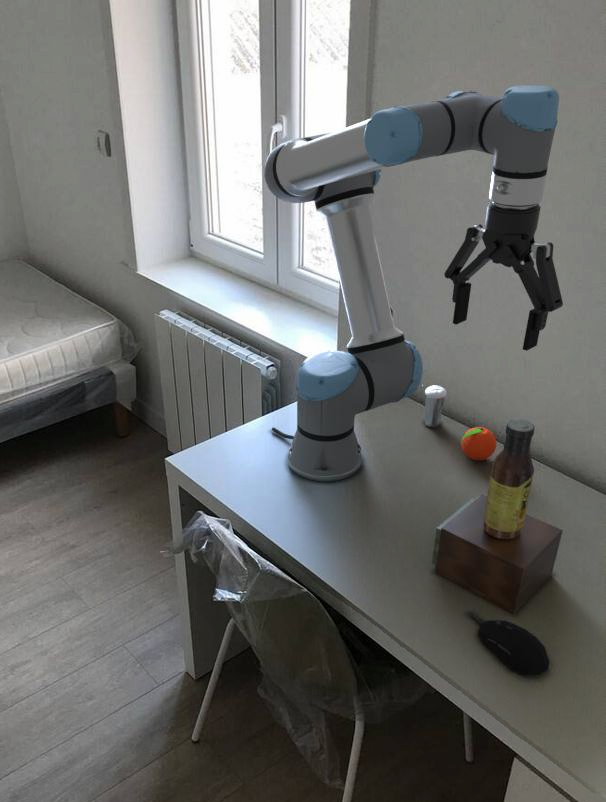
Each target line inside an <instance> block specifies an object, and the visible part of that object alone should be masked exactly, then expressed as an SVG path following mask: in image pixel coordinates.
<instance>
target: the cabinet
mask: <svg viewBox="0 0 606 802" xmlns="http://www.w3.org/2000/svg"><path fill="white" fill-rule="evenodd" d="M486 502H487V495H485V494H481V495H480V496H478V497H477V498H476V500H475V501H474V502H472V503H471V504H470V505H469V506H468V507H466V508H465V509H464V510H463V511H462V512H460V513H459V514H458V515H457V516H455V517H454V518H453V519H452V520H451V521H449V522H448V523H447V524H446V525H445V526H443V527H442V528H441V534H440V541H439V548H438V555H437V563H436V565H435V572H434V573H436V574H438V575H440V576H442V577H444V578H445V579H447V580H449V581H451V582H453V583H455V584H457V585H459V586H460V587H462V588H464V589H466V590H468V591H470V592H471V593H474V594H475V595H477V596H479V597H481V598H482V599H484V600H486V601H488V602H490V603H492V604H494V605H496V606H498V607H500V608H502V609H503V610H505V611H507V612H509V613H511V614H515V613H516V612H517V611H518V610H519V609H520V608H521V607H522V606H523V605H524V604H525V603H526V602H527V601H528V600H529V598H530V597H531V596H533V594H535V593H536V591H538V589H539V588H540V587H541V586H542V585H543V584H544V583H545V582H546V581H547V580H548V579H549V578H550V577H551V576H552V574H553V570H554V566H555V563H556V559H557V555H558V551H559V547H560V543H561V539H562V535H563V529H561V528H558V527H557V526H554V525H552V524H550V523H547V522H545V521H543V520H541V519H538V518H536V517H534V516H532V515H529V514H527V513H526V515H525V520H524V525H523V527H522V529H521V532H520V534H519V535H518V536H517V537H515V538H513V539H498V538H495V537H493V536H491V535H489V534H488V533H487V532H486V531H485V529H484V514H485V508H486Z"/></svg>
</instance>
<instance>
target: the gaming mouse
mask: <svg viewBox="0 0 606 802" xmlns="http://www.w3.org/2000/svg"><path fill="white" fill-rule="evenodd" d="M469 616H470V617H472V618H473V619H474V620H475V621H477V623H478V624H480V626H479V629H478V632H477V633H478V636H479V639H480V641H481V642H482V643H483V644H484V645H485V646H486V647H487V649H489V651H491V652H492V653H493V654H494V655H495V656H496V657H497V658H498V659H499V660H500V661H501V662H502V663H503V664H504V665H506V666H507V667H508V668H509V669H510V670H512V671H514V672H516V673H517V674H519V675H521V676H540V675H542V674H544V673H545V672H547V671H548V670H549V667H550V659H549V656H548V653H547V649H546V647H545V645H544V644H543V643H542V642H541V641H540V640H539V639H538V638H537V636H535V635H534V634H533V633H531V632H530V631H529V630H527V629H525V628H524V627H521V626H519V625H517V624H515V623H513V622H510V621H507V620H500V619H496V620H492V619H490V620H486V621H484V620H482V619H481V618H478V617H477V616H476V615H474V613H470V614H469Z"/></svg>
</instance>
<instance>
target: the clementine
mask: <svg viewBox="0 0 606 802" xmlns="http://www.w3.org/2000/svg"><path fill="white" fill-rule="evenodd" d="M459 444H461V449H462V452H463V453H464V455H466V457H468V458H469V459H471V460H473V461H485V460H487V459H489V458H490V457H491V456H492V455H493V454H494V453H495V451H496V449H497V439H496V436H495V435H494V433H493V432H492V430H490V429H488V428H486V427H483V426H475V427H472V428H470V429H468V430H467V431H466V432H465V433H464V434H463V436H462V438H461V439H460V442H459Z"/></svg>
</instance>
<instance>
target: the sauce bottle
mask: <svg viewBox="0 0 606 802" xmlns="http://www.w3.org/2000/svg"><path fill="white" fill-rule="evenodd" d="M535 427H536V426H535V424H534V423H533V422H531V421H529V420H526V419H523V418H513V419H510V420H509V421H507V422H506V426H505V440H504V443H503V449H501V450H500V451H499V452H498V453H497V454H496V456H495V458H494V459H493V464H492V470H491V472H490V478H489V482H488V483H489V484H488V490H487V495H486V496H487V502H486V508H485V514H484V529H485V531H486V532H487V533H488V534H489V535H491V536H493V537H495V538H498V539H513V538H515V537H517V536H518V535H519V534H520V532H521V529H522V527H523V525H524V520H525V515H526V514H527V509H528V505H529V499H530V494H531V490H532V485H533V479H534V474H535V468H534V463H533V459H532V455H531V443H532V438H533V436H534V434H535Z"/></svg>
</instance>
